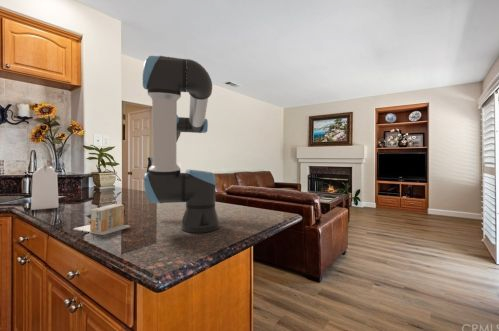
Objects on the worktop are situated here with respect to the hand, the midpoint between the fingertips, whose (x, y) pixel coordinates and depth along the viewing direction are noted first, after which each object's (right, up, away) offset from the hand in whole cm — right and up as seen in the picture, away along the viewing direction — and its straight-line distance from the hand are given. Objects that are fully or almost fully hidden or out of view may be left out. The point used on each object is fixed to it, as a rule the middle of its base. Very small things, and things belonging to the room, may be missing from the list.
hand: (148, 190), depth 118 cm
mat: (-10, -13, -20) cm, 26 cm away
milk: (-66, -12, +22) cm, 71 cm away
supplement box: (-6, -8, -14) cm, 17 cm away
